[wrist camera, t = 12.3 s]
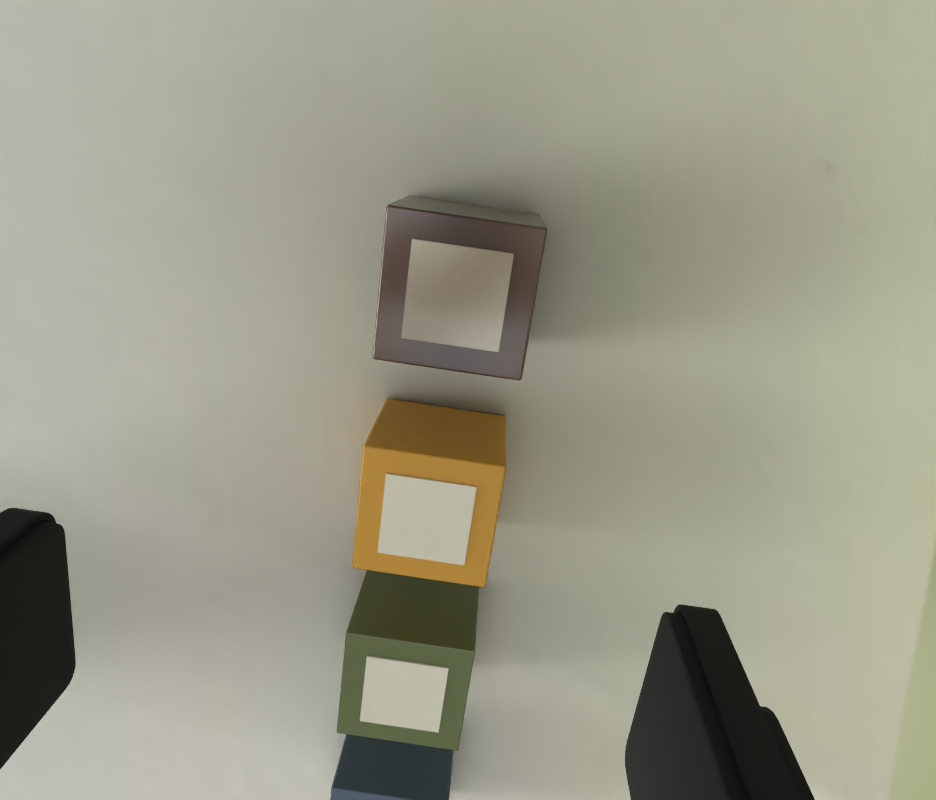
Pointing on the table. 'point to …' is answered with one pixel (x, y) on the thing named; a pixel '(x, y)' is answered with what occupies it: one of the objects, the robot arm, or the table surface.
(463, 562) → the ochre block
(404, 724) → the olive block
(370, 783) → the slate block
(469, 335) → the walnut block
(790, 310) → the table surface
